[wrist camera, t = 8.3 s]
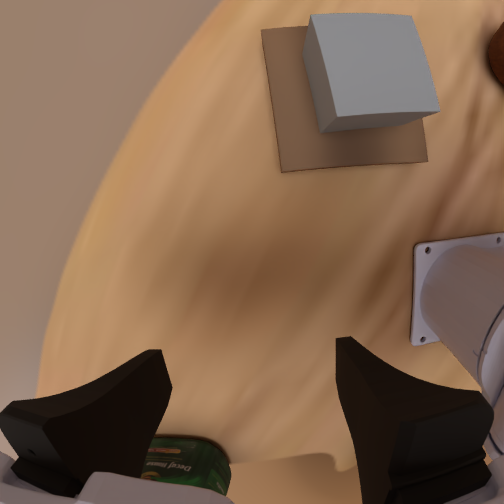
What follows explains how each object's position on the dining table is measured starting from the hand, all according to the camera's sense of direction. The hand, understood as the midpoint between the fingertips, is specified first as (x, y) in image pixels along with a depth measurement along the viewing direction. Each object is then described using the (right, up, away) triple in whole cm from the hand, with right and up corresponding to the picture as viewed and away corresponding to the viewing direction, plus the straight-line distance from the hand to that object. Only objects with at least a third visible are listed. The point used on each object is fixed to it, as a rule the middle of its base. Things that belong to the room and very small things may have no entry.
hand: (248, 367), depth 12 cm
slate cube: (+6, +14, +3) cm, 16 cm away
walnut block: (+6, +15, +6) cm, 17 cm away
